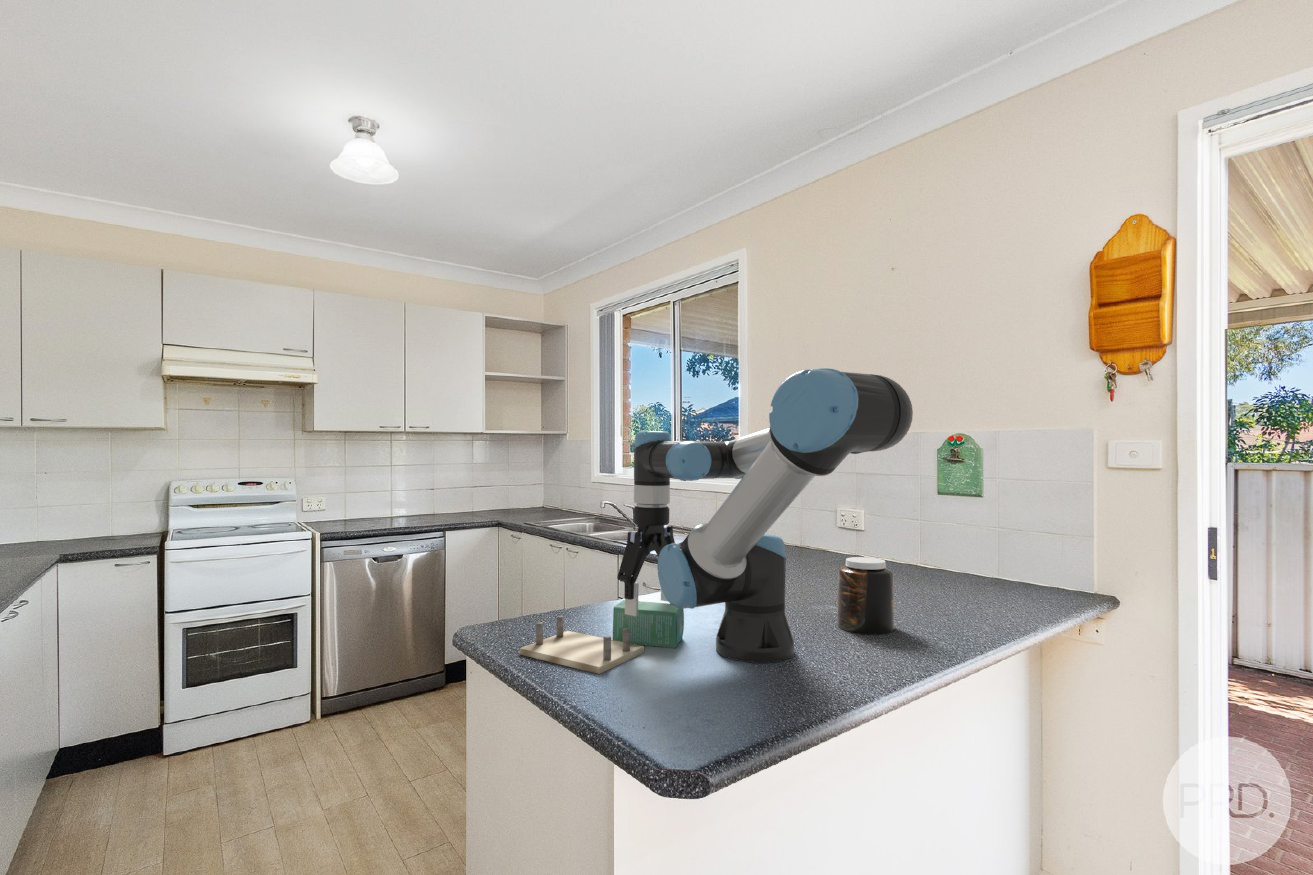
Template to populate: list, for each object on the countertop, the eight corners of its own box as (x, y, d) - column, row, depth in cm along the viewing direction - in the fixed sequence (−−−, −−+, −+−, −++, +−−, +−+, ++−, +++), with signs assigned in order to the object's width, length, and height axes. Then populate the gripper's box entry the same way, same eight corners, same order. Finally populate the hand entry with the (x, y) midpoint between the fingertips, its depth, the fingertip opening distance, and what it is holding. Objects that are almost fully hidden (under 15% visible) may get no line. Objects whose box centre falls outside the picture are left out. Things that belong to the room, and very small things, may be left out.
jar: (875, 638, 133) (875, 566, 133) (827, 626, 142) (827, 559, 142) (903, 628, 141) (903, 560, 141) (856, 617, 150) (856, 553, 150)
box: (677, 649, 125) (677, 611, 125) (611, 644, 128) (612, 607, 128) (684, 638, 132) (684, 602, 132) (622, 634, 135) (622, 599, 136)
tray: (643, 652, 123) (643, 625, 123) (599, 674, 111) (599, 644, 111) (567, 636, 133) (568, 611, 133) (519, 654, 121) (520, 627, 121)
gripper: (667, 500, 144) (665, 593, 144) (600, 508, 123) (598, 618, 123) (696, 502, 140) (694, 598, 140) (632, 511, 119) (630, 624, 119)
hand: (649, 607), depth 132 cm, fingers open, 13 cm apart
